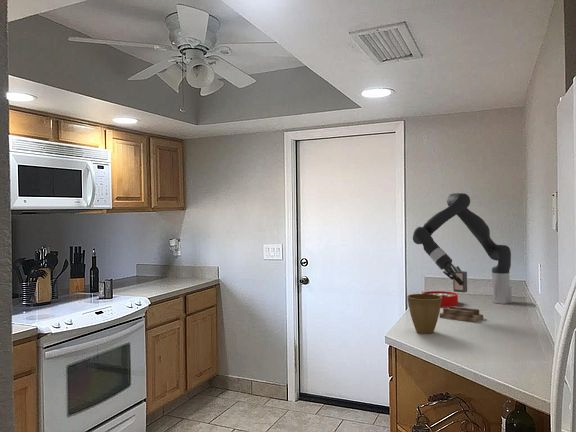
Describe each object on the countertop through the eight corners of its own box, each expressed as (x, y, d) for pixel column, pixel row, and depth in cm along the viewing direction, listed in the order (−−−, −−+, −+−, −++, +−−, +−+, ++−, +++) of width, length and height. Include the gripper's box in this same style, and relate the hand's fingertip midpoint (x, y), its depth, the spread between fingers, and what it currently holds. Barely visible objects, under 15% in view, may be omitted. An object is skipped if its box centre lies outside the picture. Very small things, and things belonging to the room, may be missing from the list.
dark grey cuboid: (453, 291, 237) (453, 271, 237) (456, 290, 240) (456, 270, 240) (464, 292, 233) (463, 272, 233) (467, 291, 236) (466, 271, 236)
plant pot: (417, 337, 203) (416, 300, 203) (402, 329, 217) (401, 294, 217) (449, 334, 206) (448, 298, 206) (432, 326, 220) (431, 292, 220)
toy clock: (425, 297, 265) (418, 291, 285) (426, 307, 265) (418, 301, 285) (462, 296, 264) (452, 290, 284) (462, 307, 264) (452, 300, 284)
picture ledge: (439, 317, 239) (439, 308, 239) (449, 313, 246) (448, 305, 246) (474, 322, 226) (474, 313, 226) (483, 318, 233) (483, 309, 233)
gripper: (438, 254, 237) (462, 280, 228) (451, 252, 247) (475, 277, 238) (429, 264, 240) (452, 290, 232) (442, 262, 250) (465, 287, 242)
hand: (464, 283), depth 235 cm, fingers closed on dark grey cuboid, 3 cm apart
